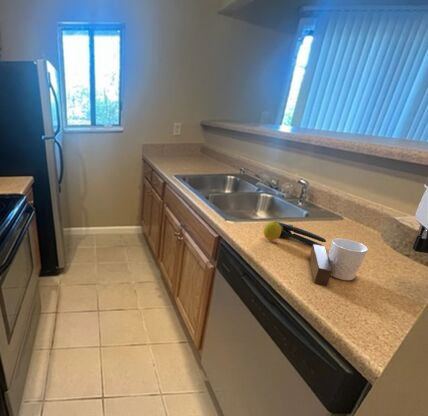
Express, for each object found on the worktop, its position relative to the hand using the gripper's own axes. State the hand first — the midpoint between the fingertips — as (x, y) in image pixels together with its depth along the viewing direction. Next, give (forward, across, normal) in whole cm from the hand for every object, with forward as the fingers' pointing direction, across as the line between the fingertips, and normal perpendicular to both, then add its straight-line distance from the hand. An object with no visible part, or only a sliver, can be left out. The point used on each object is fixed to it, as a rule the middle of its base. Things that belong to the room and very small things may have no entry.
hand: (421, 251), depth 72 cm
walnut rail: (+11, -1, +20) cm, 23 cm away
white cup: (+12, 0, +14) cm, 19 cm away
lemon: (+11, +14, +33) cm, 37 cm away
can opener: (+11, +19, +25) cm, 33 cm away
